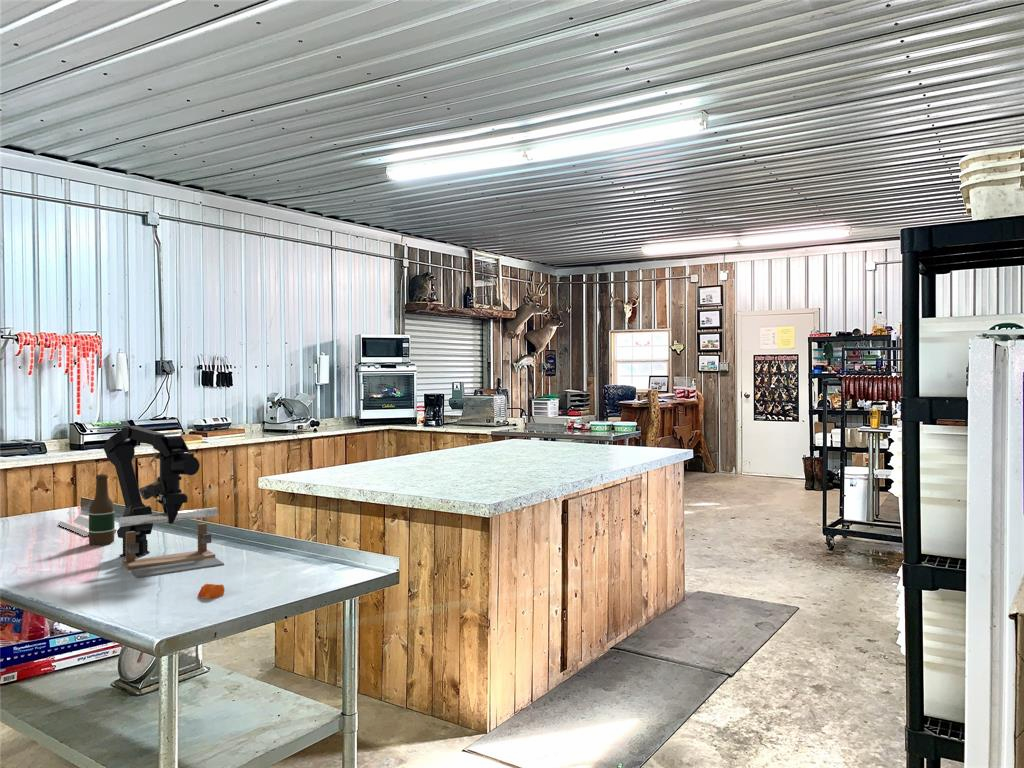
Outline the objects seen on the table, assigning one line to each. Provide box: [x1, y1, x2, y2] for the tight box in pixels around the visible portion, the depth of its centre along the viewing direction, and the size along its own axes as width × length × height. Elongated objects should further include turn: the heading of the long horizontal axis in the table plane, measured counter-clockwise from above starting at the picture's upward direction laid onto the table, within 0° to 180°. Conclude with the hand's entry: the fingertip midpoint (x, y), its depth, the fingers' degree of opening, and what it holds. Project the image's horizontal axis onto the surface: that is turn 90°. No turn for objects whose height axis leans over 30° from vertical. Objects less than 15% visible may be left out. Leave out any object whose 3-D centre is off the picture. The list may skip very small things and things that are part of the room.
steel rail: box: [118, 506, 218, 528], centre depth 225 cm, size 28×3×3 cm, turn 128°
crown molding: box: [57, 514, 118, 537], centre depth 274 cm, size 31×12×4 cm, turn 48°
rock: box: [197, 583, 225, 600], centre depth 189 cm, size 12×12×4 cm
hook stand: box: [121, 522, 216, 571], centre depth 225 cm, size 9×25×10 cm, turn 128°
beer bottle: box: [88, 473, 116, 546], centre depth 249 cm, size 8×8×24 cm
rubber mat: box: [130, 557, 225, 579], centre depth 216 cm, size 9×24×1 cm, turn 128°
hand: (169, 523), depth 225 cm, fingers closed on steel rail, 3 cm apart
